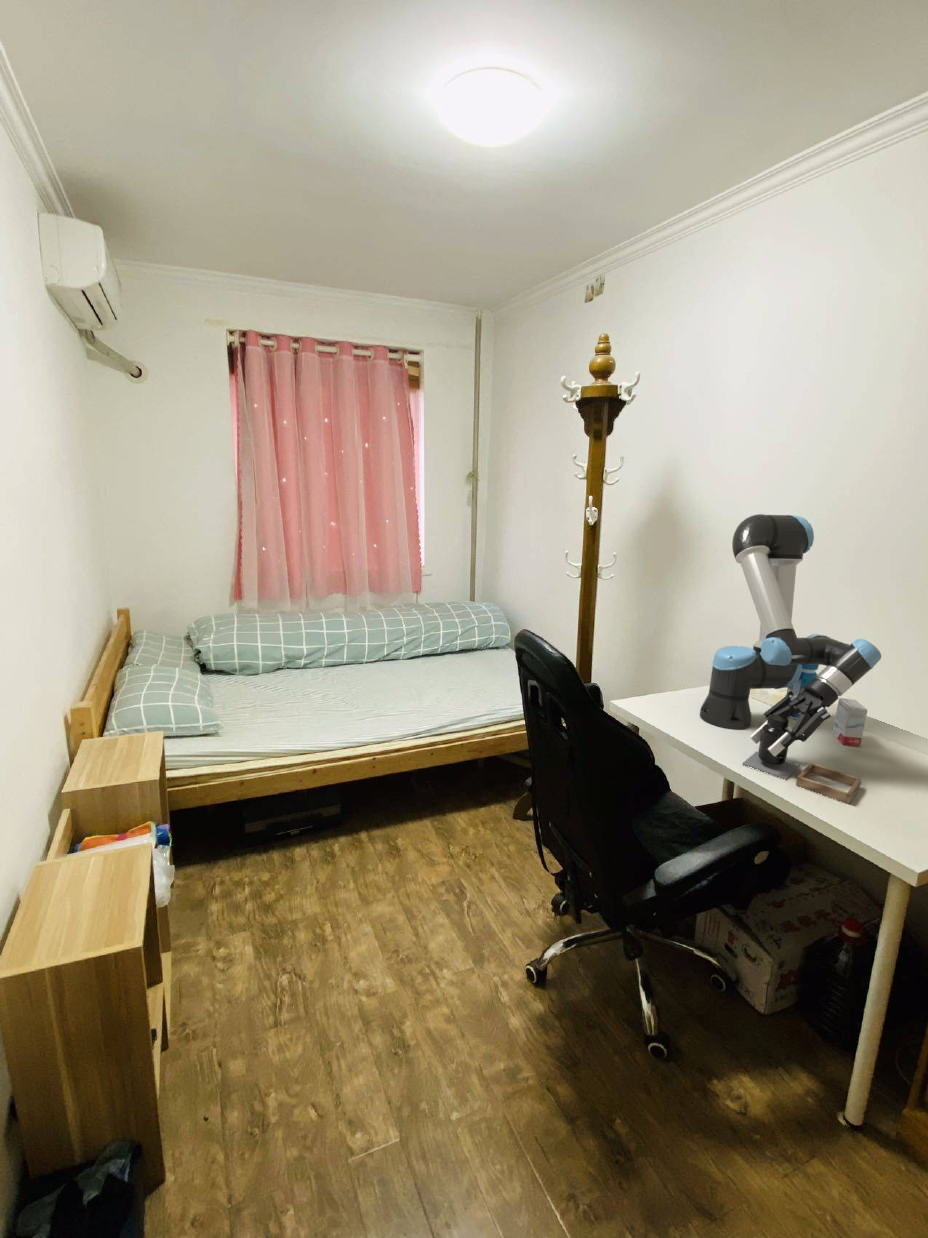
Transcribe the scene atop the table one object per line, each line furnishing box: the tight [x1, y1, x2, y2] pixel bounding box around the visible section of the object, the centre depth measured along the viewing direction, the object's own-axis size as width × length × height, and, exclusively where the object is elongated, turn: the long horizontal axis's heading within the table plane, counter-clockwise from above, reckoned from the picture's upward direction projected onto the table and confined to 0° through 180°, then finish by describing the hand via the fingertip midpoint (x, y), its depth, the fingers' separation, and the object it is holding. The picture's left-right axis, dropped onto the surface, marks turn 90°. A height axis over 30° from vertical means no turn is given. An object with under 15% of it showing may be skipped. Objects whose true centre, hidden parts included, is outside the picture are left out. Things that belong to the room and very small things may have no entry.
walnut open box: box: [795, 762, 862, 805], centre depth 152 cm, size 12×12×2 cm
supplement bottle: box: [757, 715, 791, 765], centre depth 160 cm, size 7×7×12 cm
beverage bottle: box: [785, 665, 820, 721], centre depth 195 cm, size 8×8×20 cm
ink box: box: [831, 697, 868, 747], centre depth 179 cm, size 9×5×12 cm, turn 168°
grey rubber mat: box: [741, 750, 800, 781], centre depth 162 cm, size 11×11×1 cm
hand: (762, 746), depth 160 cm, fingers closed on supplement bottle, 7 cm apart
